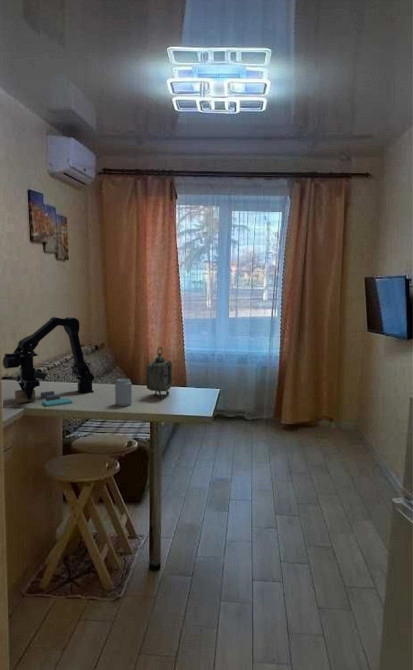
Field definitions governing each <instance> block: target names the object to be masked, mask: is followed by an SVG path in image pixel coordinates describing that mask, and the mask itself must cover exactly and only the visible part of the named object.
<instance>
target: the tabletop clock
mask: <svg viewBox="0 0 413 670" xmlns="http://www.w3.org/2000/svg"><path fill="white" fill-rule="evenodd" d="M159 350H161V351H160V352H159ZM156 354H157V356H156V357H155V359H154V360H153V361H152V362H150V363H148V364H147V366H146V380H145V381H146V389H148V390H149V391H151V392H152V391H155V392H154V393H153V396H154V397H157V396H158V394H159V399H160V400H162V399H163V395H162V392H166V395H169V394H170V391H169V390H170V389H171V387H172V383H173V367H172V366H173V364H172V361H170V360H165V357H164V356H162V354H163V348H162V346H161V347H158V348H157V352H156ZM157 393H158V394H157Z"/></svg>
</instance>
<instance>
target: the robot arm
mask: <svg viewBox="0 0 413 670" xmlns="http://www.w3.org/2000/svg"><path fill="white" fill-rule="evenodd" d="M58 326H61V327H63V329H64V331H65V333H66V334H67V335H68V338H69V343H70V347H71V352H72V356H73V357H72V358H73V362H74V363H73V365H71V367H70V368H71V371H72V374H73V376H75V377H76V380H78V383H77V392H78V393H81V394H87V393H93V392H94V390H93V381H94V380H95V376H94V375H93V373H91V372H90V371H91V370H90V368H89V366H88V364H87V362H86V361H85V359H84V354H83V350H82V349H83V348H82V345H81V342H80V341H81V340H80V336H79V332H80V321H79V319H77V318H76V317H69V316H68V317H64V318H60V317H57V316H52V317H50V319H49V320H48V321H47V322H45V323H44V324H43V325H42V326H41V327H40V328H38V329H37V330H36V331H34V332H33V333H32V334H31V335H28V336H25V337H24V338H22V339H21V340H19V341H18V344H17V347H16V348H15V350H14V351H13V353H12V352H11V353H4V356H3V359H2V365H3V368H4V369H5V370H6V369H13V368H19V371H20V374H17V375H16V377H15V381H16V382H17V384H18V385H19V387H20V390H25V393H26V395H27V398H28V400H30V399H31V397H32V393H33V389H34V390H35V388H37V387H40V386H41V385H40V384H41V383H40V381H39V380H38V379H40V380H42V381H46V377H47V373H46V372H43V371H42V369H40V368H37V369H36V368H35V366H34V357H37V356H39V355H38V353H36V352H35V349H36V348H37V347H38V345H39V343H40V342H41V340H43V339H44V338H45V337H46V336H47V335H49V333H51V332H52V331H53V330H55V328H57V327H58Z"/></svg>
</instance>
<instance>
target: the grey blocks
mask: <svg viewBox="0 0 413 670" xmlns="http://www.w3.org/2000/svg"><path fill="white" fill-rule="evenodd" d="M40 398H41V399H45V401H50V400H58V399H61V395H60V394H55V391H54V390H52V391H42V392H40Z"/></svg>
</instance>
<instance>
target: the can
mask: <svg viewBox="0 0 413 670" xmlns="http://www.w3.org/2000/svg"><path fill="white" fill-rule="evenodd" d="M132 385H133V383H132V382H131V379H130V378H117V379H116V382H115V384H114V386H115V387H114V389H115V390H114V392H115V395H114V396H115V397H114V398H115V401H114V402H115V404H116V405H117V406H118V407H127V406H130V405H131V404H132V402H133V401H132V399H133V398H132V397H133V396H132V395H133V394H132V393H133V392H132Z"/></svg>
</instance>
